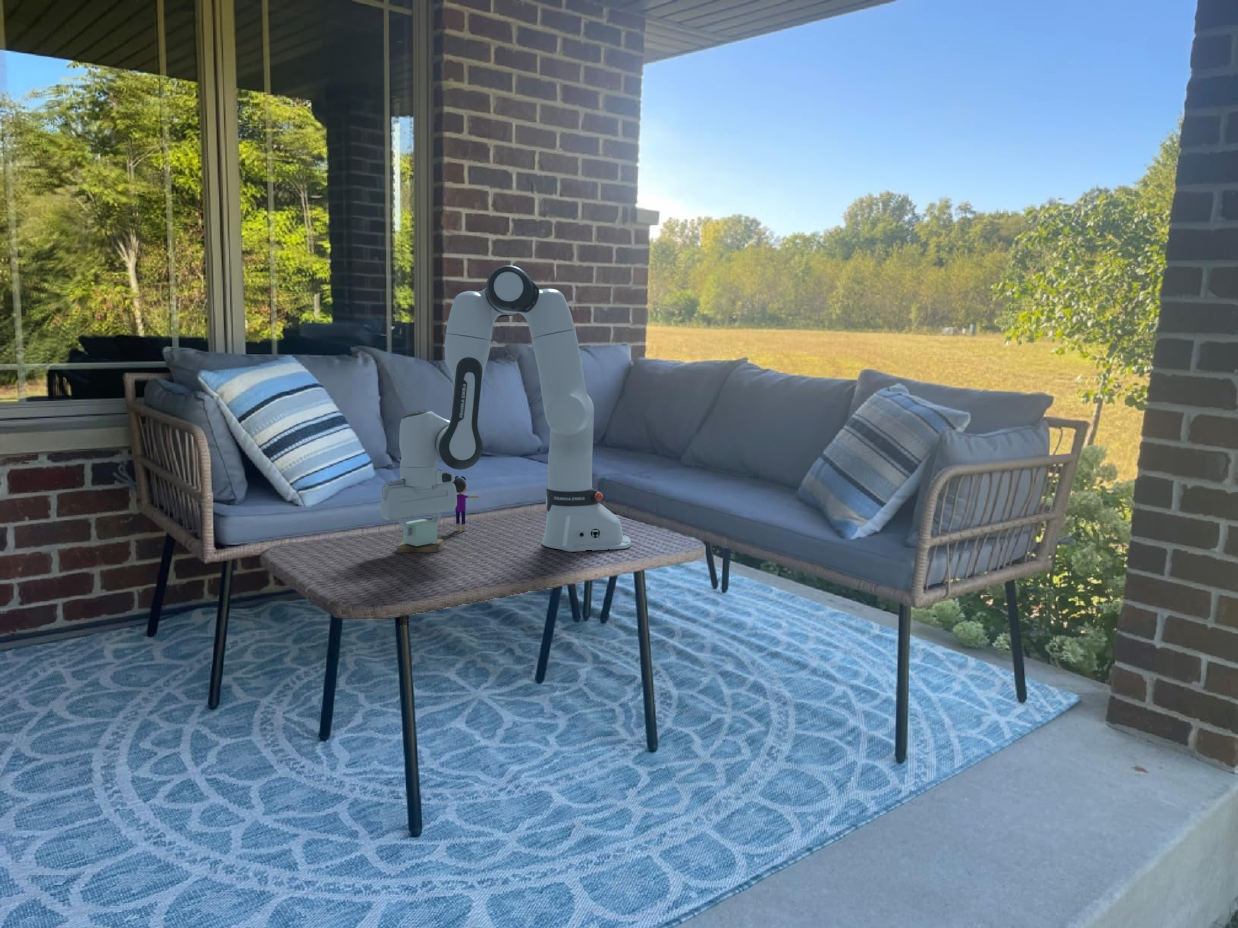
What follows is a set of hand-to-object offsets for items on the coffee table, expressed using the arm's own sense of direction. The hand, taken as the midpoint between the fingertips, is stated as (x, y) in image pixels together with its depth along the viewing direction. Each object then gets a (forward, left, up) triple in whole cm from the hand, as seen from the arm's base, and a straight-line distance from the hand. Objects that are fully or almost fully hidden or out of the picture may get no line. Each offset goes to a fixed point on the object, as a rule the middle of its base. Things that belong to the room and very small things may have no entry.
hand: (420, 532), depth 219 cm
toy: (-8, -20, -4) cm, 22 cm away
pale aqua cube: (0, 0, -2) cm, 2 cm away
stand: (0, -1, -4) cm, 4 cm away
